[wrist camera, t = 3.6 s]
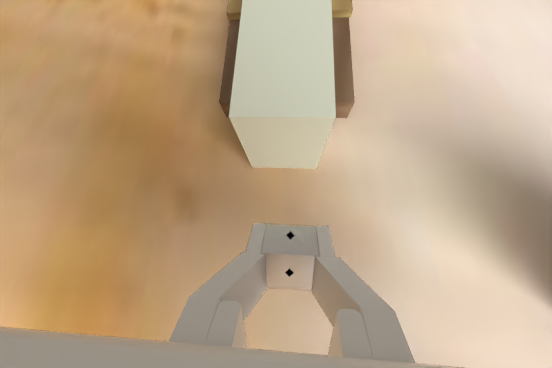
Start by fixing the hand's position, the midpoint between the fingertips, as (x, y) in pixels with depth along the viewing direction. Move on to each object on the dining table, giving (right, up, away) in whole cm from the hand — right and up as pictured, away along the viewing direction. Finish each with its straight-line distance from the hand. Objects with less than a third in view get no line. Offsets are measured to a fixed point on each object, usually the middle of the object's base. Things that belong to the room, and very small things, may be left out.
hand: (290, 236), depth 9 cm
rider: (0, +9, +10) cm, 13 cm away
